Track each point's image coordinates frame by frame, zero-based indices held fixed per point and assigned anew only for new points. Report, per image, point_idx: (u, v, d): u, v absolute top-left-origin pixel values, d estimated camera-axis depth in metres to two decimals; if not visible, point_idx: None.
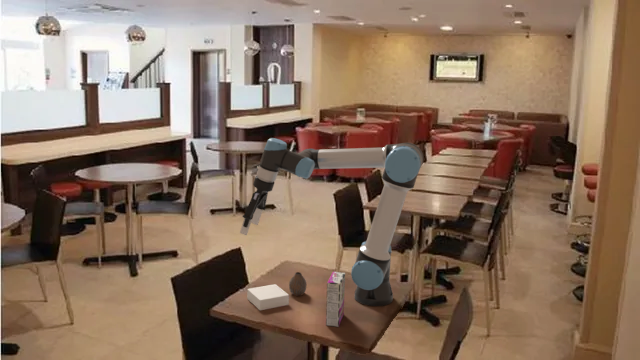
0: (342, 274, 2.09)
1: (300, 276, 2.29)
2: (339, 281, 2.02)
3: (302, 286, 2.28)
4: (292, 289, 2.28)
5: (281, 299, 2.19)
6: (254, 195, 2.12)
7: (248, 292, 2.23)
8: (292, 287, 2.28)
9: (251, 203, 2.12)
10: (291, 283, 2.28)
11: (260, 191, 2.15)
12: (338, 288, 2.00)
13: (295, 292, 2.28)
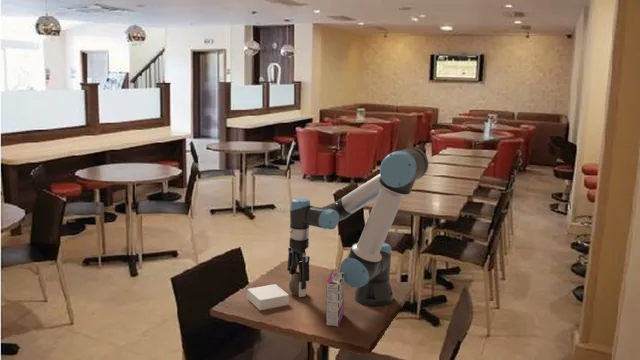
0: (341, 274, 2.09)
1: None
2: (338, 281, 2.02)
3: None
4: (292, 289, 2.28)
5: (281, 299, 2.19)
6: (305, 259, 2.22)
7: (248, 292, 2.23)
8: (292, 287, 2.28)
9: (305, 266, 2.23)
10: (291, 283, 2.28)
11: None
12: (337, 288, 2.00)
13: (295, 292, 2.28)
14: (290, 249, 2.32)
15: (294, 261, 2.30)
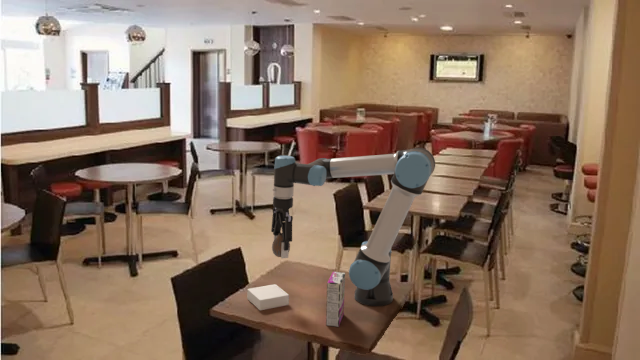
0: (342, 274, 2.09)
1: None
2: (339, 281, 2.02)
3: None
4: (274, 250, 2.21)
5: (281, 299, 2.19)
6: (288, 218, 2.14)
7: (248, 292, 2.23)
8: (275, 247, 2.20)
9: (288, 226, 2.15)
10: (274, 244, 2.21)
11: (288, 211, 2.16)
12: (338, 288, 2.00)
13: (278, 253, 2.20)
14: (274, 209, 2.25)
15: (278, 221, 2.22)
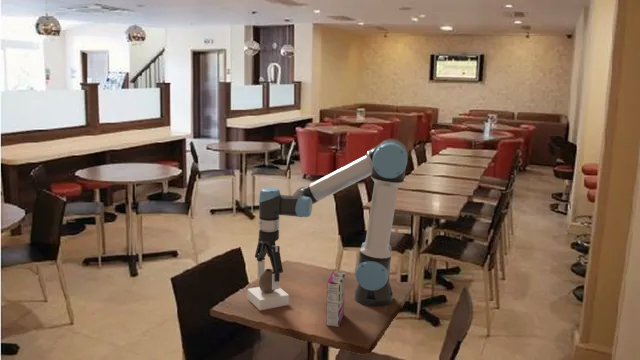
0: (342, 274, 2.09)
1: (270, 273, 2.20)
2: (339, 281, 2.02)
3: None
4: (261, 286, 2.19)
5: (281, 299, 2.19)
6: (275, 248, 2.12)
7: (248, 292, 2.23)
8: (262, 284, 2.19)
9: (276, 256, 2.12)
10: (261, 280, 2.19)
11: (274, 242, 2.15)
12: (338, 288, 2.00)
13: (264, 289, 2.19)
14: (260, 239, 2.23)
15: (263, 252, 2.22)
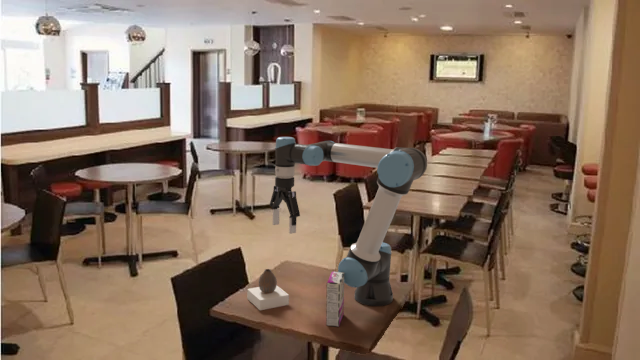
0: (341, 274, 2.09)
1: (270, 273, 2.20)
2: (339, 281, 2.02)
3: (272, 283, 2.19)
4: (261, 286, 2.19)
5: (281, 299, 2.19)
6: (292, 193, 2.22)
7: (248, 292, 2.23)
8: (261, 284, 2.19)
9: (293, 201, 2.22)
10: (260, 280, 2.19)
11: (290, 188, 2.25)
12: (338, 288, 2.00)
13: (264, 290, 2.19)
14: (275, 187, 2.32)
15: (278, 199, 2.32)
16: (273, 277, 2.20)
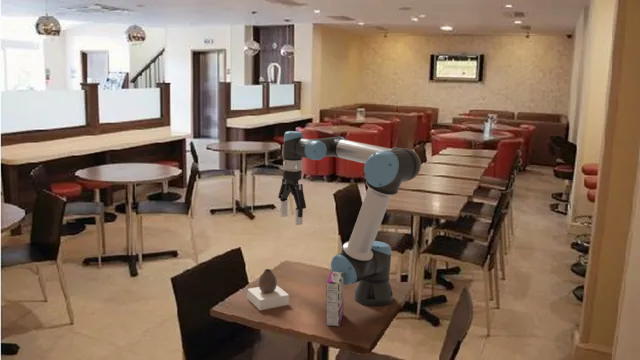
0: (341, 273, 2.09)
1: (270, 273, 2.20)
2: (338, 280, 2.02)
3: (272, 283, 2.19)
4: (261, 286, 2.19)
5: (281, 299, 2.19)
6: (298, 186, 2.29)
7: (248, 292, 2.23)
8: (261, 284, 2.19)
9: (299, 193, 2.29)
10: (260, 280, 2.19)
11: (297, 181, 2.32)
12: (337, 287, 2.01)
13: (264, 290, 2.19)
14: (284, 180, 2.40)
15: (286, 191, 2.39)
16: (273, 277, 2.20)
